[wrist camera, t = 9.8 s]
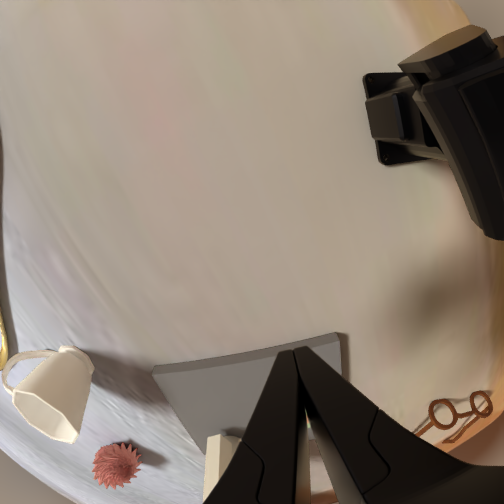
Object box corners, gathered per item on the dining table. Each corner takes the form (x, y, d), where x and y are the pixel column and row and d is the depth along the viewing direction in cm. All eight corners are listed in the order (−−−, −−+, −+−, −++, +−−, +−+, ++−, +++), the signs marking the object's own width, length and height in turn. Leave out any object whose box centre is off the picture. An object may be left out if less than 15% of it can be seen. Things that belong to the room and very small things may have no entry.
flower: (85, 481, 25) (107, 505, 22) (73, 437, 26) (94, 460, 23) (130, 466, 32) (154, 485, 29) (123, 423, 32) (148, 441, 29)
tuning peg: (204, 430, 26) (197, 521, 16) (300, 398, 24) (321, 499, 15) (248, 464, 29) (251, 539, 19) (331, 438, 27) (351, 517, 18)
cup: (108, 394, 26) (85, 453, 18) (32, 364, 25) (0, 412, 17) (105, 346, 24) (71, 410, 16) (21, 314, 22) (-23, 362, 15)
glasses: (484, 387, 30) (499, 408, 26) (442, 440, 35) (452, 461, 30) (424, 398, 29) (440, 426, 24) (381, 454, 34) (390, 479, 29)
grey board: (335, 332, 24) (339, 341, 22) (341, 423, 29) (343, 432, 27) (154, 366, 24) (151, 375, 23) (204, 446, 29) (203, 455, 28)
